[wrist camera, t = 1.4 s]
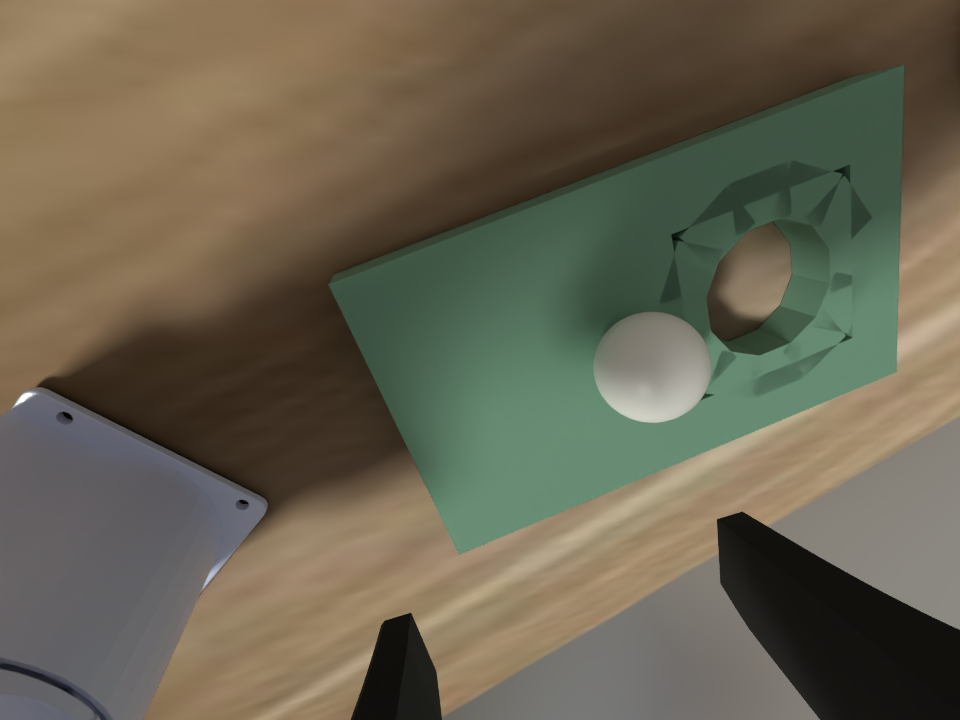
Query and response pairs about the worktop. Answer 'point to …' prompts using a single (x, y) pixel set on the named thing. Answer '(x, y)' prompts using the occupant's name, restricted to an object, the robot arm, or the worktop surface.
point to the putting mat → (636, 306)
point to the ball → (652, 367)
